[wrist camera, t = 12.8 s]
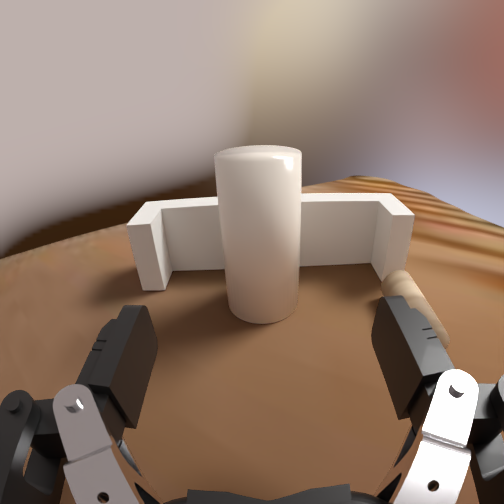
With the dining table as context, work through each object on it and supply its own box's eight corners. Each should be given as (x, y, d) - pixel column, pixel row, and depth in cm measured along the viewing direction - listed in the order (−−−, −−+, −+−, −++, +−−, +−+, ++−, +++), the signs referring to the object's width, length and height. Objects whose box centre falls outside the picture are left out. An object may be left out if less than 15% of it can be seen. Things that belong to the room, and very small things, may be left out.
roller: (417, 367, 17) (410, 346, 16) (386, 302, 23) (376, 280, 22) (451, 348, 16) (447, 325, 15) (413, 287, 23) (405, 264, 21)
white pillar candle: (226, 324, 21) (208, 164, 16) (230, 282, 26) (219, 147, 20) (301, 322, 21) (307, 161, 16) (293, 279, 26) (295, 144, 20)
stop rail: (142, 290, 25) (126, 225, 22) (157, 260, 30) (146, 202, 27) (401, 280, 25) (414, 215, 22) (382, 251, 29) (391, 193, 26)
